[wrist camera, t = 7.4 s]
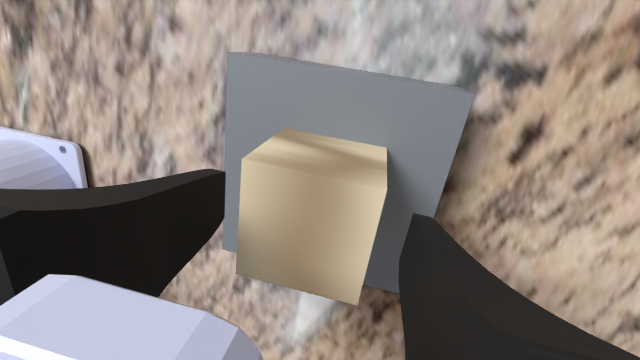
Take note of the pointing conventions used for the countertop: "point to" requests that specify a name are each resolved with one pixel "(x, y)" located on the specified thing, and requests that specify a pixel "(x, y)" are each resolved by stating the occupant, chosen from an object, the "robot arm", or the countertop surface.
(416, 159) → the base block
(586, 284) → the countertop surface
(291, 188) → the maple cube
